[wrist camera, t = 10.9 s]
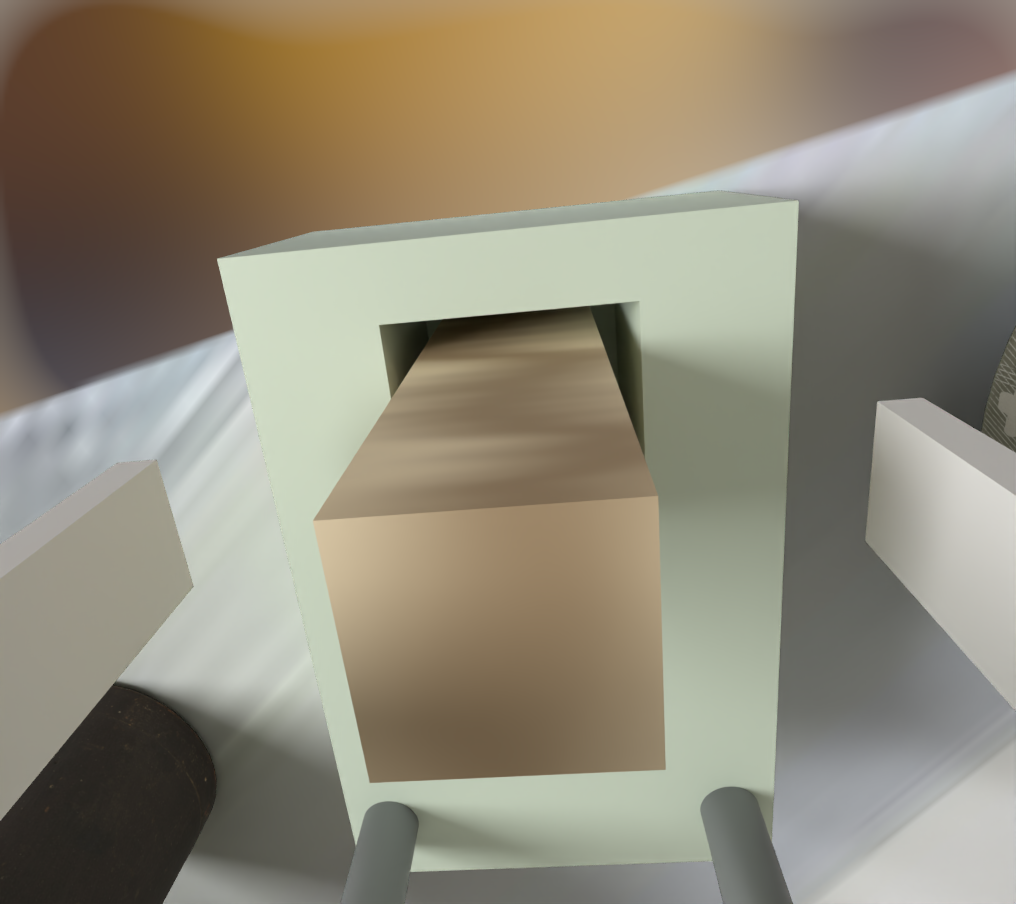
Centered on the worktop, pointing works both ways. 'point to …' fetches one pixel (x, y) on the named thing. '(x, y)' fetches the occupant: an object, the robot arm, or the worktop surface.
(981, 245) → the worktop surface
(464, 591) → the peg
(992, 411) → the planter
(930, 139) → the worktop surface
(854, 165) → the worktop surface
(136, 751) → the container
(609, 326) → the socket station
